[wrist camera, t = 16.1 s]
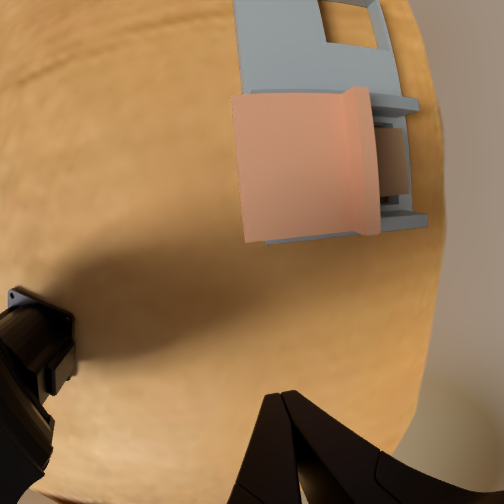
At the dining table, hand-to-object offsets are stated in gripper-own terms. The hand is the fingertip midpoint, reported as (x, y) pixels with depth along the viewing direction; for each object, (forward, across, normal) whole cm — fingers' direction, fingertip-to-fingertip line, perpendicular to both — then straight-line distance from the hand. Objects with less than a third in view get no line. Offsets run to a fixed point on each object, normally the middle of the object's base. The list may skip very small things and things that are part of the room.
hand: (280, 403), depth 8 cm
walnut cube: (+13, -8, -6) cm, 17 cm away
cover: (+9, -3, -7) cm, 11 cm away
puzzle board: (+13, -7, -12) cm, 19 cm away
